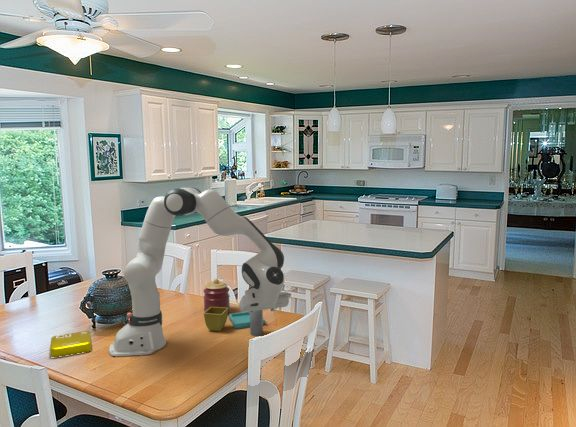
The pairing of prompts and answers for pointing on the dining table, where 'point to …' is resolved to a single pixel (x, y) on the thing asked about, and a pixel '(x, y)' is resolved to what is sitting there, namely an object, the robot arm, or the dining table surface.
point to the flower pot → (215, 318)
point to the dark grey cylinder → (256, 323)
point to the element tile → (70, 344)
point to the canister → (216, 295)
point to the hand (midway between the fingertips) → (261, 311)
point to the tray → (241, 320)
